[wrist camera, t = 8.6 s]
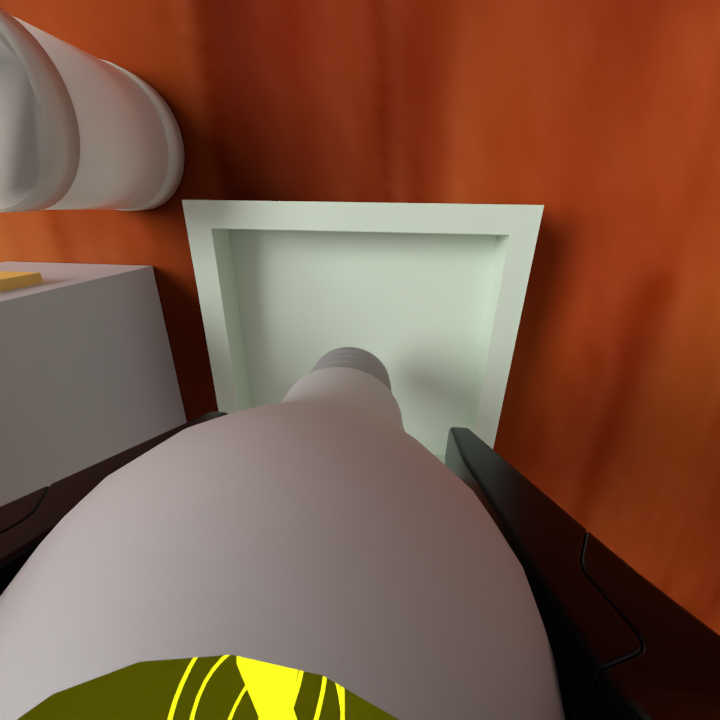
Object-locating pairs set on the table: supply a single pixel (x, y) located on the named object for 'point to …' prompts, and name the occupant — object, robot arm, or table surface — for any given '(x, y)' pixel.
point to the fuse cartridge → (79, 129)
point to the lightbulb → (279, 579)
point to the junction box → (79, 369)
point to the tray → (366, 300)
